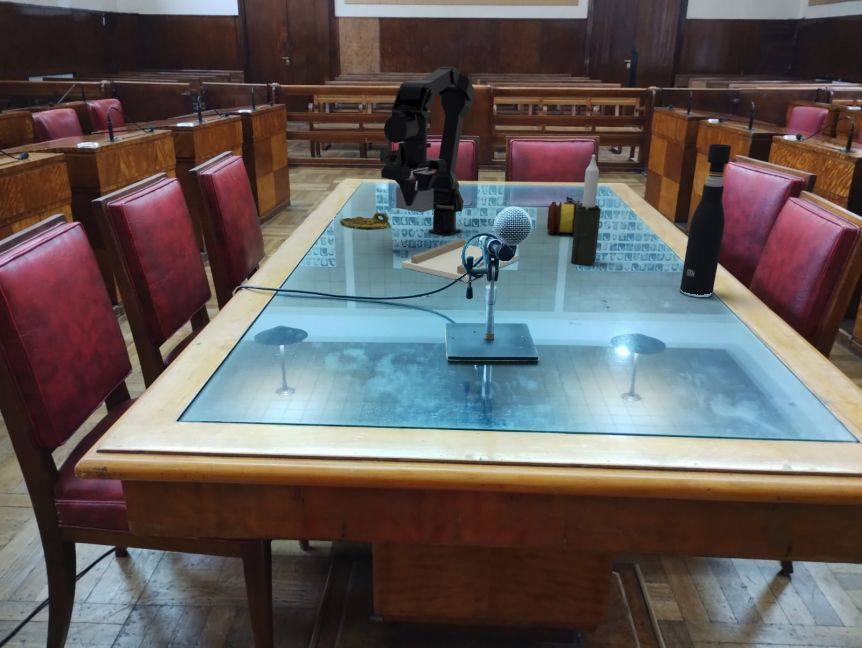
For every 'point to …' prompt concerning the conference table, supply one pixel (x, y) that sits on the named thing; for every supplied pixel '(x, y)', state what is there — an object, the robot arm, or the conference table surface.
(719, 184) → the black water bottle
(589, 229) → the candle
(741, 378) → the conference table surface
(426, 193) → the block
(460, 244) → the plate
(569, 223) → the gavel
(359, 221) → the seal
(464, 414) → the conference table surface
